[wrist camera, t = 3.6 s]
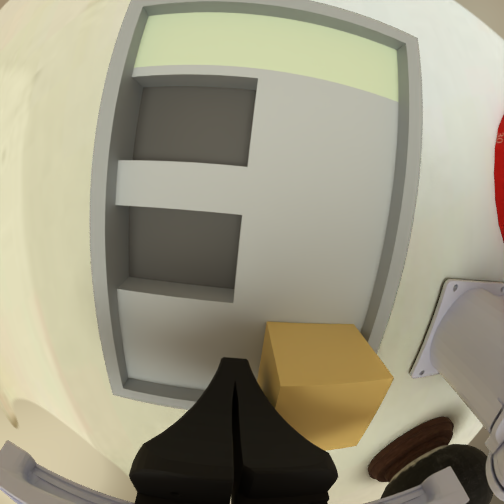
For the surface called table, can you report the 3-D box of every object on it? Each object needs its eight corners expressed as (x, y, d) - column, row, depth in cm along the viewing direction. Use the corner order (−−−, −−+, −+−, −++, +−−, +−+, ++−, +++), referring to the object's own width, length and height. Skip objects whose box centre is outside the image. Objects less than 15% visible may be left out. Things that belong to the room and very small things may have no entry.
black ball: (462, 428, 21) (509, 498, 7) (382, 484, 23) (411, 560, 8) (448, 393, 18) (520, 494, 4) (339, 468, 20) (372, 580, 6)
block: (353, 323, 13) (394, 377, 9) (331, 388, 14) (356, 445, 10) (266, 321, 13) (280, 386, 8) (255, 390, 14) (262, 454, 9)
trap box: (391, 56, 11) (417, 38, 8) (338, 381, 16) (351, 412, 13) (148, 23, 10) (132, -3, 7) (128, 365, 15) (113, 394, 13)
